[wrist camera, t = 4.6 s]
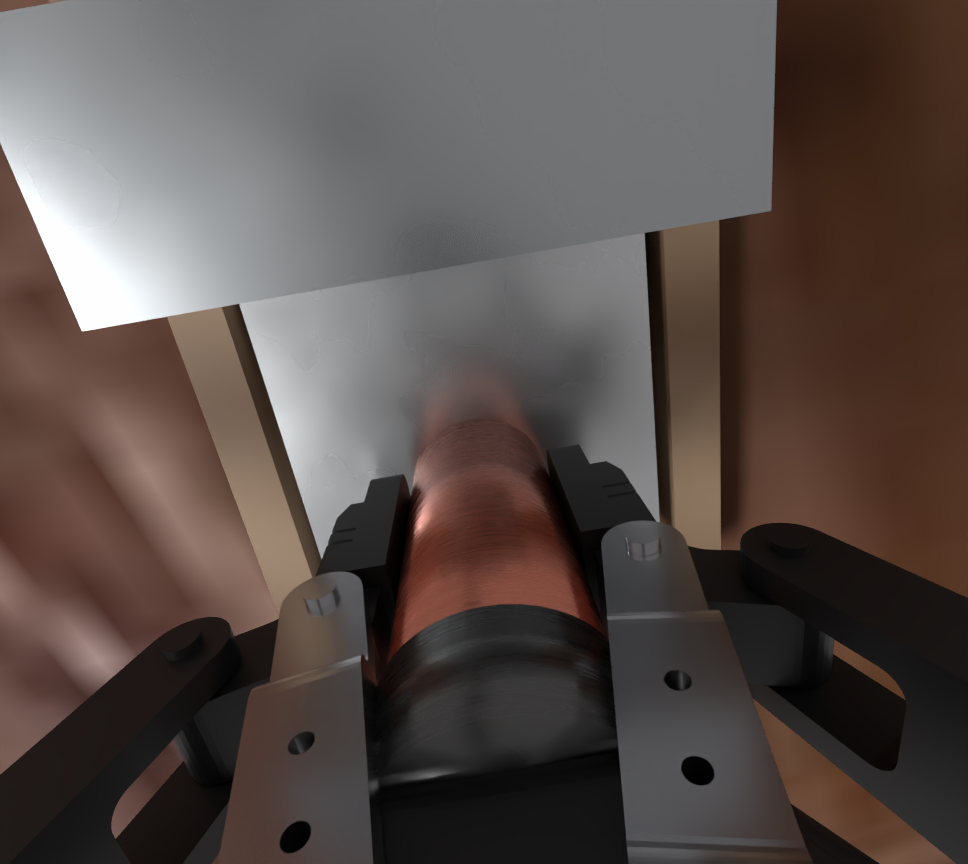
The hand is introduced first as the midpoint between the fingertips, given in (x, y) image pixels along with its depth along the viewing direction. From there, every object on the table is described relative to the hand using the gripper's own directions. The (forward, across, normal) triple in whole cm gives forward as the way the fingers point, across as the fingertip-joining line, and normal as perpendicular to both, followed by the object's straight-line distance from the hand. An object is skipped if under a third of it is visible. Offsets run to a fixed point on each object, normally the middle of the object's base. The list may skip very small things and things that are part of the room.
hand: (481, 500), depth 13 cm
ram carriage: (+2, 0, -3) cm, 4 cm away
